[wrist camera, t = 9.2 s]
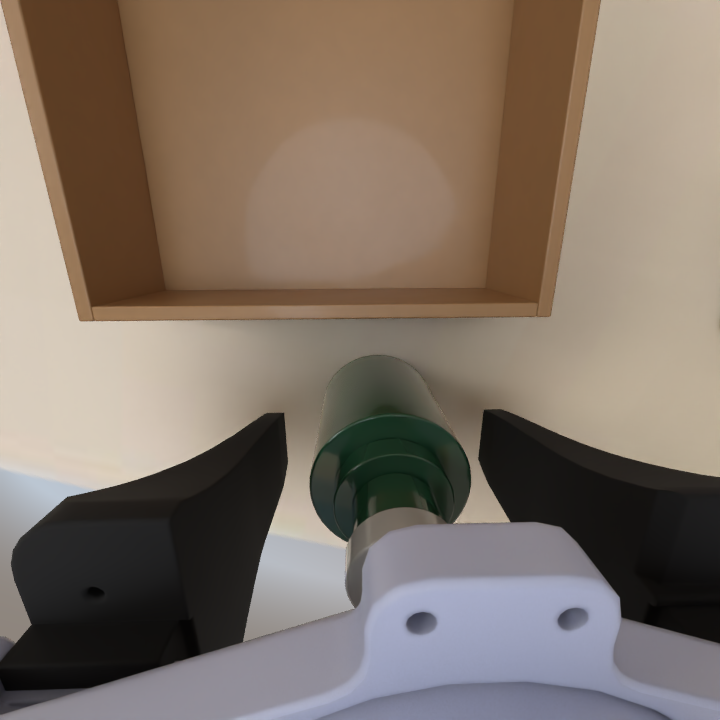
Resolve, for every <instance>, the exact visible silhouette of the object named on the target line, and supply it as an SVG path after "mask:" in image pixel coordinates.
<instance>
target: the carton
mask: <svg viewBox="0 0 720 720" xmlns="http://www.w3.org/2000/svg"><path fill="white" fill-rule="evenodd" d="M0 1H1V5H2V9H3V13H4V17H5V21H6V25H7V29H8V33H9V37H10V41H11V45H12V49H13V53H14V57H15V61H16V65H17V70H18V74H19V78H20V82H21V86H22V90H23V94H24V98H25V102H26V106H27V110H28V114H29V118H30V122H31V126H32V130H33V134H34V138H35V143H36V147H37V151H38V155H39V159H40V163H41V167H42V171H43V175H44V179H45V183H46V187H47V191H48V195H49V199H50V203H51V207H52V212H53V216H54V220H55V224H56V228H57V232H58V236H59V240H60V244H61V248H62V252H63V256H64V260H65V264H66V268H67V272H68V276H69V280H70V285H71V289H72V293H73V297H74V301H75V305H76V309H77V313H78V317H79V320H80V321H160V320H266V319H371V318H476V317H536V316H537V317H549V316H551V311H552V304H553V298H554V292H555V286H556V279H557V273H558V267H559V260H560V254H561V248H562V242H563V235H564V229H565V223H566V216H567V210H568V204H569V198H570V191H571V185H572V179H573V172H574V166H575V160H576V153H577V147H578V141H579V135H580V128H581V122H582V116H583V109H584V103H585V97H586V91H587V84H588V78H589V72H590V65H591V59H592V53H593V46H594V40H595V34H596V28H597V21H598V15H599V9H600V2H601V0H0Z"/></svg>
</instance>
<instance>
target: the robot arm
mask: <svg viewBox="0 0 720 720" xmlns="http://www.w3.org/2000/svg"><path fill="white" fill-rule="evenodd" d="M478 460H479V462H480V465H481V468H482V470H483V473H484V475H485V477H486V480H487V482H488V484H489V486H490V488H491V489H492V491H493V493H494V495H495V496H496V498H497V500H498V501H499V503H500V505H501V507H502V508H503V510H504V512H505V513H506V515H507V517H508V518H509V520H510V523H466V524H423V525H413V526H409V527H405V528H401V529H397V530H392V531H389V532H388V533H387V534H385V535H384V536H383V537H382V538H380V539H379V540H378V541H377V542H376V543H374V544H373V545H372V546H371V547H369V550H368V553H367V556H366V559H365V562H364V565H363V568H362V596H361V602H360V603H359V605H358V606H357V607H356V608H355V609H351V610H348V611H345V612H341V613H338V614H335V615H331V616H328V617H325V618H322V619H318V620H315V621H312V622H308V623H305V624H301V625H298V626H295V627H291V628H288V629H285V630H282V631H279V632H275V633H272V634H268V635H265V636H262V637H258V638H255V639H252V640H248V641H245V642H243V638H244V633H245V628H246V623H247V617H248V613H249V608H250V602H251V598H252V593H253V589H254V584H255V579H256V574H257V570H258V566H259V562H260V557H261V553H262V550H263V546H264V543H265V540H266V537H267V534H268V531H269V528H270V525H271V522H272V519H273V516H274V513H275V510H276V507H277V505H278V502H279V499H280V496H281V493H282V489H283V486H284V481H285V476H286V471H287V465H288V457H287V444H286V431H285V418H284V413H266V414H264V415H262V416H261V417H259V418H258V419H256V420H255V421H254V422H252V423H251V424H249V425H248V426H246V427H245V428H243V429H242V430H240V431H239V432H238V433H236V434H235V435H233V436H231V437H230V438H228V439H226V440H225V441H223V442H222V443H220V444H218V445H217V446H215V447H213V448H212V449H210V450H208V451H206V452H204V453H202V454H200V455H198V456H196V457H194V458H192V459H190V460H188V461H186V462H183V463H181V464H178V465H176V466H173V467H171V468H168V469H166V470H163V471H161V472H158V473H156V474H153V475H150V476H147V477H144V478H141V479H138V480H134V481H131V482H128V483H124V484H121V485H117V486H113V487H110V488H105V489H101V490H97V491H92V492H88V493H84V494H79V495H75V496H70V497H67V498H66V499H64V500H63V501H62V502H61V503H60V504H59V505H58V506H56V507H55V508H54V509H53V510H52V511H51V512H50V513H48V514H47V515H46V516H45V517H44V518H43V519H42V520H40V521H39V522H38V523H37V524H36V525H35V526H34V527H32V528H31V529H30V530H29V531H28V532H27V533H26V534H25V535H23V536H22V537H21V538H20V539H19V541H18V543H17V545H16V546H15V548H14V549H13V554H12V561H11V567H12V571H13V576H14V581H15V583H16V586H17V588H18V591H19V593H20V596H21V598H22V601H23V604H24V606H25V609H26V611H27V614H28V616H29V619H30V622H31V624H32V625H31V626H30V627H29V628H28V630H27V631H26V632H25V633H24V634H23V636H22V637H21V638H20V639H19V640H18V642H17V643H15V642H14V641H12V640H11V639H9V638H7V637H2V636H0V720H720V477H714V476H706V475H700V474H695V473H690V472H685V471H679V470H674V469H669V468H665V467H660V466H656V465H651V464H647V463H644V462H640V461H636V460H632V459H628V458H624V457H621V456H618V455H614V454H611V453H608V452H605V451H602V450H599V449H596V448H593V447H590V446H587V445H584V444H582V443H579V442H577V441H574V440H572V439H569V438H567V437H564V436H562V435H559V434H557V433H555V432H553V431H550V430H548V429H546V428H544V427H541V426H539V425H537V424H535V423H533V422H530V421H528V420H526V419H524V418H522V417H519V416H517V415H515V414H512V413H510V412H507V411H504V410H501V409H492V410H484V412H483V421H482V430H481V439H480V448H479V457H478Z"/></svg>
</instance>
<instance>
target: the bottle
mask: <svg viewBox="0 0 720 720" xmlns="http://www.w3.org/2000/svg"><path fill="white" fill-rule="evenodd" d="M470 487H471V471H470V465H469V462H468V458H467V456H466V454H465V452H464V450H463V448H462V446H461V444H460V443H459V441H458V439H457V437H456V435H455V434H454V432H453V430H452V428H451V427H450V425H449V423H448V421H447V420H446V418H445V416H444V414H443V413H442V411H441V409H440V407H439V405H438V404H437V402H436V400H435V398H434V397H433V395H432V393H431V391H430V390H429V388H428V386H427V384H426V383H425V381H424V379H423V378H422V376H421V375H420V374H419V373H418V371H417V370H416V369H414V368H413V367H412V366H411V365H409V364H408V363H406V362H404V361H402V360H400V359H397V358H394V357H390V356H385V355H373V356H366V357H362V358H359V359H356V360H354V361H352V362H350V363H348V364H347V365H345V366H344V367H343V368H341V369H340V370H339V371H338V372H337V373H336V374H335V375H334V377H333V378H332V379H331V381H330V383H329V385H328V387H327V389H326V392H325V396H324V401H323V407H322V412H321V418H320V424H319V429H318V435H317V441H316V446H315V452H314V457H313V463H312V469H311V474H310V496H311V500H312V503H313V506H314V508H315V510H316V513H317V515H318V516H319V518H320V519H321V521H322V522H323V523H324V524H325V526H326V527H327V528H328V529H329V530H330V531H332V532H333V533H334V534H335V535H336V536H338V537H339V538H341V539H342V540H344V541H346V542H348V544H347V548H346V559H345V587H346V591H347V595H348V597H349V599H350V601H351V603H352V605H353V606H354V607H355V608H356V607H357V606H358V605H359V603H360V602H361V596H362V568H363V565H364V562H365V559H366V556H367V553H368V550H369V547H371V546H372V545H373V544H374V543H376V542H377V541H378V540H379V539H380V538H382V537H383V536H384V535H385V534H387V533H388V532H389V531H392V530H397V529H401V528H405V527H409V526H413V525H423V524H453V523H454V522H455V521H456V519H457V518H458V517H459V515H460V514H461V512H462V511H463V509H464V507H465V505H466V502H467V499H468V496H469V492H470Z"/></svg>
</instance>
